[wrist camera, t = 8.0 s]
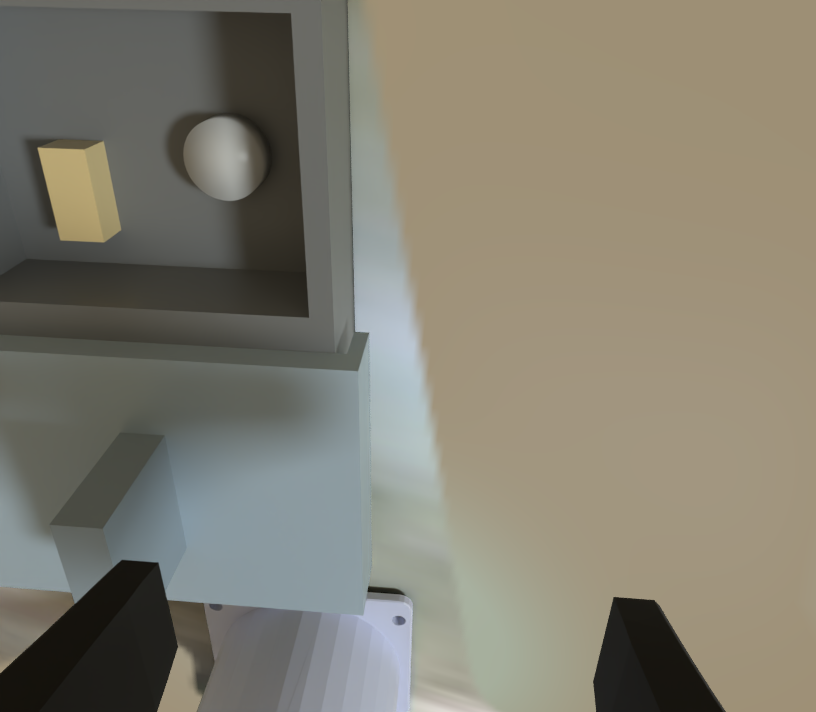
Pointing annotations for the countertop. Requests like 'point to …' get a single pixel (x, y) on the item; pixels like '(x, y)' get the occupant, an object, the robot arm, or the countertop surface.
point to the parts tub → (177, 172)
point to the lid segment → (188, 470)
